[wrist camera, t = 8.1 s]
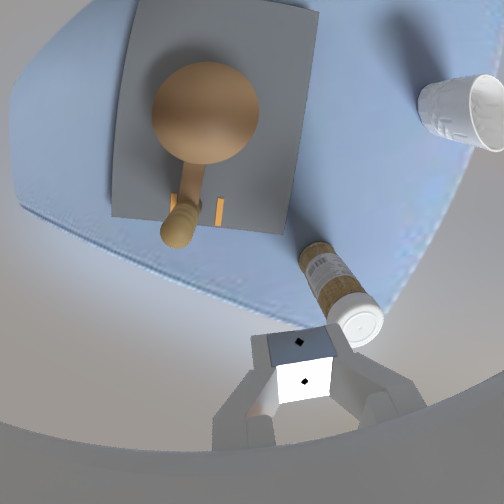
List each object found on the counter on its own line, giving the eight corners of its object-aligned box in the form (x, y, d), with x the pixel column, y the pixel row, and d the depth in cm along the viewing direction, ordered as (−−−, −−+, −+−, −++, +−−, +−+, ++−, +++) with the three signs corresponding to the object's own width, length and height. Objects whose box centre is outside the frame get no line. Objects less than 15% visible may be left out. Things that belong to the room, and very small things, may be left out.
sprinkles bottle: (307, 282, 35) (342, 358, 23) (291, 251, 34) (324, 323, 21) (341, 264, 35) (390, 332, 22) (327, 232, 33) (378, 294, 21)
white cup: (447, 152, 30) (502, 166, 21) (403, 118, 28) (460, 121, 19) (465, 103, 27) (520, 107, 18) (424, 66, 26) (479, 57, 16)
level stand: (145, 2, 21) (140, -5, 19) (314, 18, 23) (319, 11, 21) (117, 211, 30) (111, 216, 28) (280, 228, 33) (283, 235, 31)
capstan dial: (170, 63, 23) (148, 40, 16) (265, 78, 24) (278, 59, 17) (144, 209, 28) (117, 238, 21) (233, 224, 30) (234, 258, 22)
